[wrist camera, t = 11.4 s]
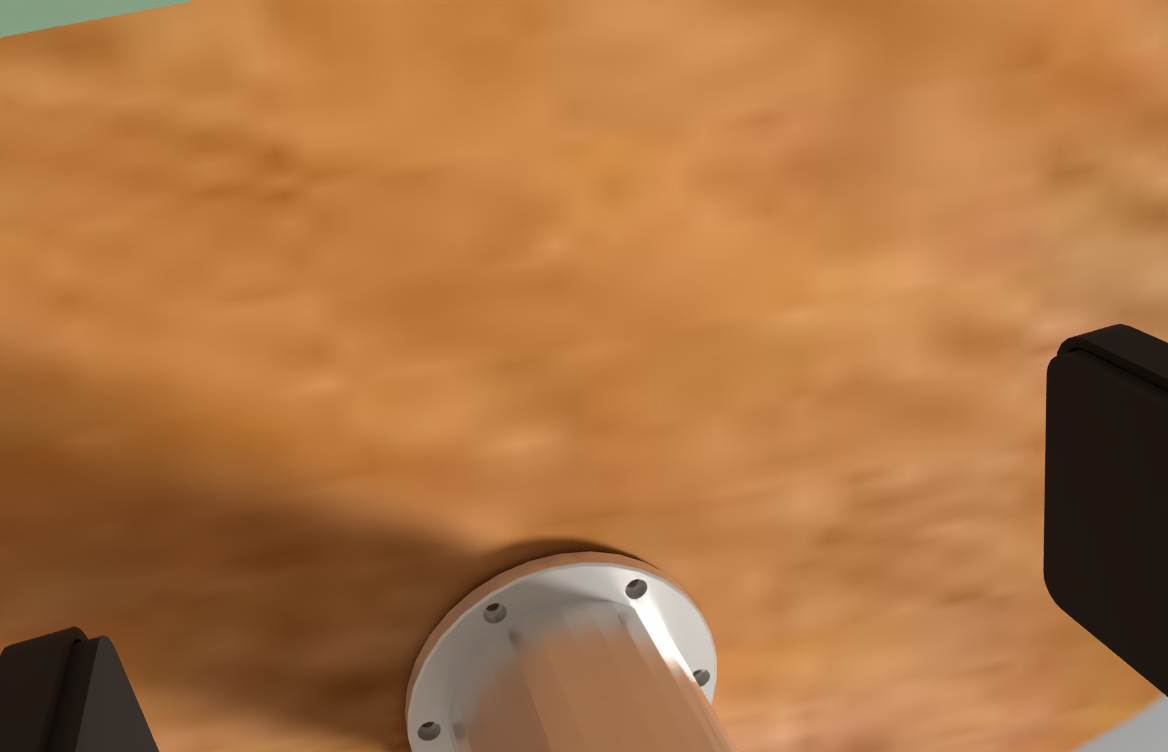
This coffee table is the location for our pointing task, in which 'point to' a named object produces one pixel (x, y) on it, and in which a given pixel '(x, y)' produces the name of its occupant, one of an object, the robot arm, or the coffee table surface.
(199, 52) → the coffee table surface
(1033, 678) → the coffee table surface
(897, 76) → the coffee table surface
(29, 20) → the frame
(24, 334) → the coffee table surface
